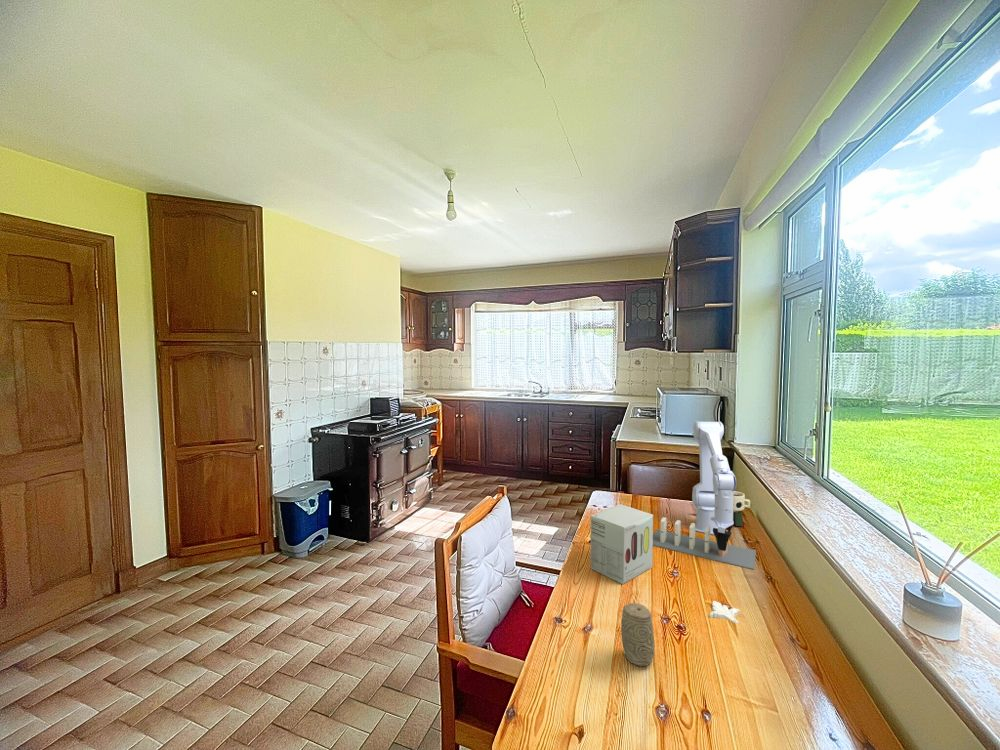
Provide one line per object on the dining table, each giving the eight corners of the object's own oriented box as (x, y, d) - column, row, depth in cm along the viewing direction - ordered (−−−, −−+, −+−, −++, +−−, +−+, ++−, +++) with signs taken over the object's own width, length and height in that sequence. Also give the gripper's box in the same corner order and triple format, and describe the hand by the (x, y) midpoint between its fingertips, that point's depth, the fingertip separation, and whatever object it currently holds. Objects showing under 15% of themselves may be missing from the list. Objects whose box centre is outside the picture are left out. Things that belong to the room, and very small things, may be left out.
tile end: (723, 551, 147) (724, 529, 147) (727, 552, 146) (727, 530, 146) (718, 555, 144) (719, 532, 144) (722, 556, 143) (722, 533, 143)
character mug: (719, 524, 171) (719, 493, 170) (719, 518, 177) (720, 489, 177) (749, 530, 166) (750, 498, 165) (749, 523, 172) (750, 493, 171)
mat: (656, 530, 167) (656, 529, 167) (755, 551, 148) (756, 550, 148) (647, 544, 154) (647, 543, 154) (753, 569, 135) (753, 568, 135)
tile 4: (706, 547, 150) (706, 525, 150) (710, 548, 150) (710, 526, 149) (704, 552, 147) (704, 530, 146) (708, 553, 146) (708, 531, 146)
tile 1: (663, 537, 159) (663, 517, 158) (666, 538, 158) (666, 517, 158) (660, 542, 155) (660, 521, 155) (663, 542, 154) (663, 521, 154)
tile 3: (691, 543, 153) (691, 522, 153) (695, 544, 152) (695, 523, 152) (689, 548, 149) (689, 527, 149) (692, 549, 149) (693, 527, 148)
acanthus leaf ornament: (709, 619, 111) (709, 612, 111) (709, 605, 117) (709, 599, 117) (741, 627, 108) (741, 620, 108) (739, 612, 114) (739, 605, 114)
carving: (627, 644, 101) (627, 596, 100) (658, 658, 96) (659, 608, 96) (616, 659, 96) (616, 609, 95) (648, 675, 91) (649, 622, 91)
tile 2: (677, 540, 156) (677, 519, 156) (680, 541, 155) (680, 520, 155) (674, 545, 152) (674, 524, 152) (678, 546, 151) (678, 524, 151)
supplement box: (624, 585, 127) (624, 528, 126) (589, 569, 137) (589, 515, 136) (654, 567, 138) (654, 513, 137) (619, 552, 148) (620, 503, 147)
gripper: (713, 499, 153) (713, 535, 153) (708, 511, 141) (707, 550, 141) (735, 503, 149) (735, 540, 150) (731, 516, 137) (731, 556, 138)
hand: (723, 545), depth 145 cm, fingers open, 7 cm apart
